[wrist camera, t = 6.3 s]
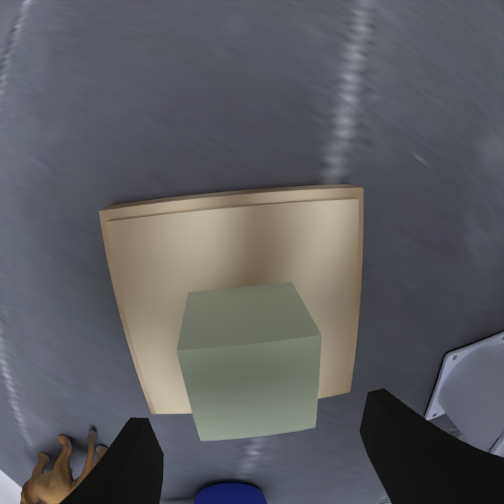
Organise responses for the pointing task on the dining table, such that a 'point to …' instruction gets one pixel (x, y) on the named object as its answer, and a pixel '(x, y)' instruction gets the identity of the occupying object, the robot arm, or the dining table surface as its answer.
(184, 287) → the plinth
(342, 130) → the dining table surface
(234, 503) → the mug
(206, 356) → the sage cube
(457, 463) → the robot arm
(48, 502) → the lion figurine
